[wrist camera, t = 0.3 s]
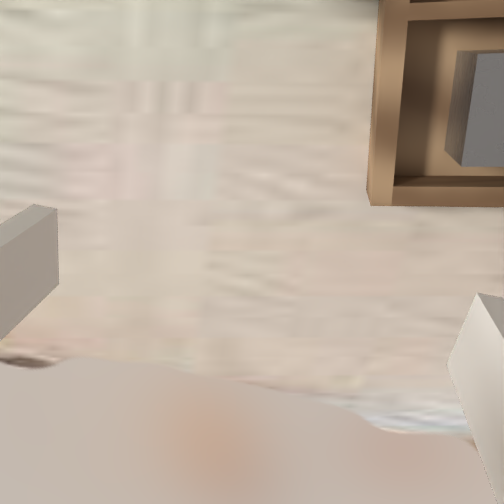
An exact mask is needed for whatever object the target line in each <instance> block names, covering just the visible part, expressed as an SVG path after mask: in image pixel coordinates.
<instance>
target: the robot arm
mask: <svg viewBox="0 0 504 504" xmlns="http://www.w3.org/2000/svg"><path fill="white" fill-rule="evenodd" d="M57 285H59V266H58V224H57V209H56V208H51V207H46V206H41V205H36V204H33V205H32V206H30V207H28V208H27V209H25V210H23V211H22V212H20V213H18V214H17V215H15V216H14V217H12V218H10V219H9V220H7V221H5V222H4V223H2V224H0V341H1V340H2V339H3V338H4V337H5V336H6V335H7V334H8V333H9V332H10V331H11V330H12V329H13V328H14V327H15V326H16V325H17V324H18V323H19V322H21V321H22V320H23V319H24V318H25V317H26V316H27V315H28V314H29V313H30V312H31V311H32V310H33V309H34V308H35V307H36V306H37V305H38V304H39V303H40V302H41V301H42V300H43V299H44V298H45V297H46V296H47V295H48V294H49V293H50V292H51V291H52V290H53V289H54V288H55V287H56V286H57ZM446 365H447V368H448V371H449V374H450V376H451V379H452V382H453V384H454V387H455V390H456V393H457V395H458V398H459V401H460V403H461V406H462V409H463V412H464V414H465V417H466V420H467V422H468V425H469V428H470V431H471V433H472V436H473V439H474V441H475V444H476V447H477V450H478V452H479V455H480V458H481V460H482V463H483V466H484V469H485V471H486V474H487V477H488V479H489V482H490V485H491V488H492V490H493V493H494V496H495V498H496V501H497V504H504V299H503V298H501V297H496V296H491V295H486V294H481V293H476V295H475V298H474V300H473V302H472V305H471V307H470V309H469V312H468V314H467V317H466V319H465V321H464V324H463V326H462V328H461V331H460V333H459V336H458V338H457V340H456V343H455V345H454V347H453V350H452V352H451V355H450V357H449V359H448V362H447V364H446Z"/></svg>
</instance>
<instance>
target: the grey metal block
mask: <svg viewBox="0 0 504 504" xmlns="http://www.w3.org/2000/svg"><path fill="white" fill-rule="evenodd" d="M444 150H445V151H446V152H447V153H448V154H449V155H450V156H451V157H452V158H453V159H454V160H455V161H456V162H457V163H458V164H459V165H460V166H461V167H504V49H496V50H463V51H457V56H456V64H455V71H454V79H453V86H452V94H451V102H450V109H449V117H448V124H447V132H446V139H445V147H444Z"/></svg>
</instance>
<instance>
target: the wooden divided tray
mask: <svg viewBox="0 0 504 504" xmlns="http://www.w3.org/2000/svg"><path fill="white" fill-rule="evenodd" d="M496 49H504V0H379V9H378V24H377V39H376V53H375V68H374V83H373V98H372V113H371V128H370V143H369V158H368V173H367V188H366V190H367V194H368V198H369V201H370V205H371V206H446V207H504V167H461V166H460V165H459V164H458V163H457V162H456V161H455V160H454V159H453V158H452V157H451V156H450V155H449V154H448V153H447V152H446V151H445V150H444V147H445V139H446V132H447V124H448V117H449V109H450V102H451V94H452V86H453V79H454V71H455V64H456V56H457V51H463V50H496Z"/></svg>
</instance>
